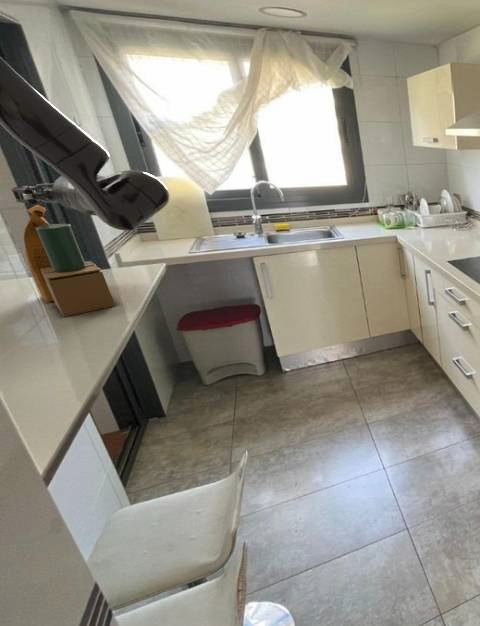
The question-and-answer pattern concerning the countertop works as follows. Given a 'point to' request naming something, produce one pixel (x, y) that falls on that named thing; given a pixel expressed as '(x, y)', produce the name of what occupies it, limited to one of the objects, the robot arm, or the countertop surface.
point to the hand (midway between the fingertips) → (55, 189)
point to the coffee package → (37, 250)
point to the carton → (79, 291)
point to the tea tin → (61, 247)
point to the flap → (72, 272)
